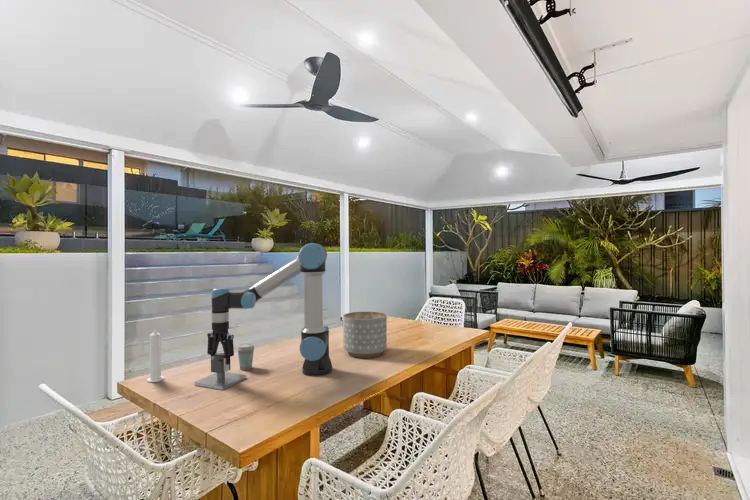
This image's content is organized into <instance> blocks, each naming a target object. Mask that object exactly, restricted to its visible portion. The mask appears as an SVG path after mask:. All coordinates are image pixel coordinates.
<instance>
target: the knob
mask: <svg viewBox="0 0 750 500" xmlns="http://www.w3.org/2000/svg"><path fill="white" fill-rule="evenodd" d="M224 357H225V354H224V352H216V353H215V355H213V360H211V359H210V373H213V374H215V373H224ZM229 371H231V363H230V364H229Z"/></svg>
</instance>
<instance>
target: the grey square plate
mask: <svg viewBox="0 0 750 500" xmlns="http://www.w3.org/2000/svg"><path fill="white" fill-rule="evenodd" d="M245 379H247V375H246V374H242V373H234V372H229V371H227V372H224V373H213V374H211V375H208V376H206V377H202V378H201V379H198V380H196V381H194V383H193V385H194V386H196V387H202V388H208V389H215V390H221V391H224V390H225V389H227V388H230V387H231V386H234V385H235V384H237V383H240V382H241V381H244V380H245Z"/></svg>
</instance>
